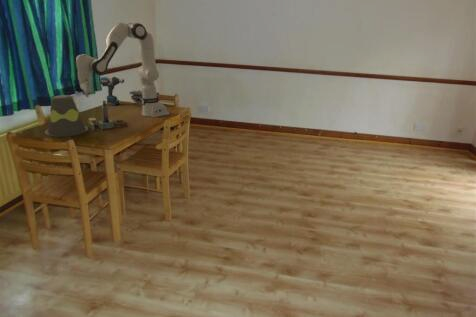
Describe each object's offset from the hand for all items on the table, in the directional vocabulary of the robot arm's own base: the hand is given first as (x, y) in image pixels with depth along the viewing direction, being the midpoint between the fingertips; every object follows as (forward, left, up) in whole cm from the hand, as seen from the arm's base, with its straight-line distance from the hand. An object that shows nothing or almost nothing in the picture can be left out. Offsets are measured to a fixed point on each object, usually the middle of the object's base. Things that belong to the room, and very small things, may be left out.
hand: (86, 96), depth 270 cm
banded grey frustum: (+19, +15, -19) cm, 31 cm away
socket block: (-4, +19, -19) cm, 28 cm away
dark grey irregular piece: (-58, -39, -19) cm, 72 cm away
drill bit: (-7, +19, -19) cm, 28 cm away
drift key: (0, +9, -19) cm, 21 cm away
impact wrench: (-33, -49, -19) cm, 62 cm away
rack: (-17, +19, -19) cm, 32 cm away
